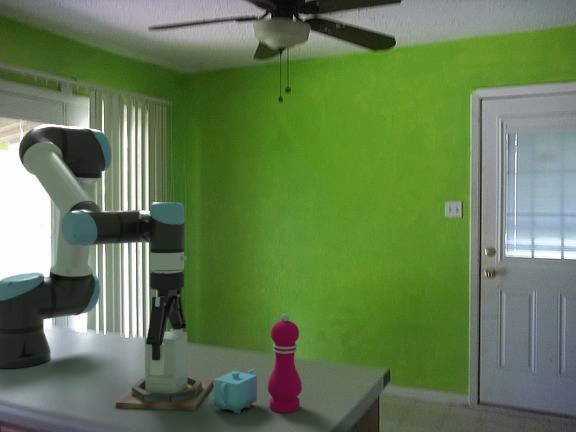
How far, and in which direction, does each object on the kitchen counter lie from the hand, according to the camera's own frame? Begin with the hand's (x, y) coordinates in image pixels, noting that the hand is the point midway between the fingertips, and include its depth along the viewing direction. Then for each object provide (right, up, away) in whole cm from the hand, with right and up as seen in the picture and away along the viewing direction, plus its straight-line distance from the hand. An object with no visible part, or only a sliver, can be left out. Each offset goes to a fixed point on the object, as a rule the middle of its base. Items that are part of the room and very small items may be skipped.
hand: (167, 365), depth 125 cm
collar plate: (0, -7, 0) cm, 7 cm away
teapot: (+16, -7, -6) cm, 19 cm away
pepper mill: (+26, -7, -7) cm, 28 cm away
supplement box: (0, -6, 0) cm, 6 cm away
